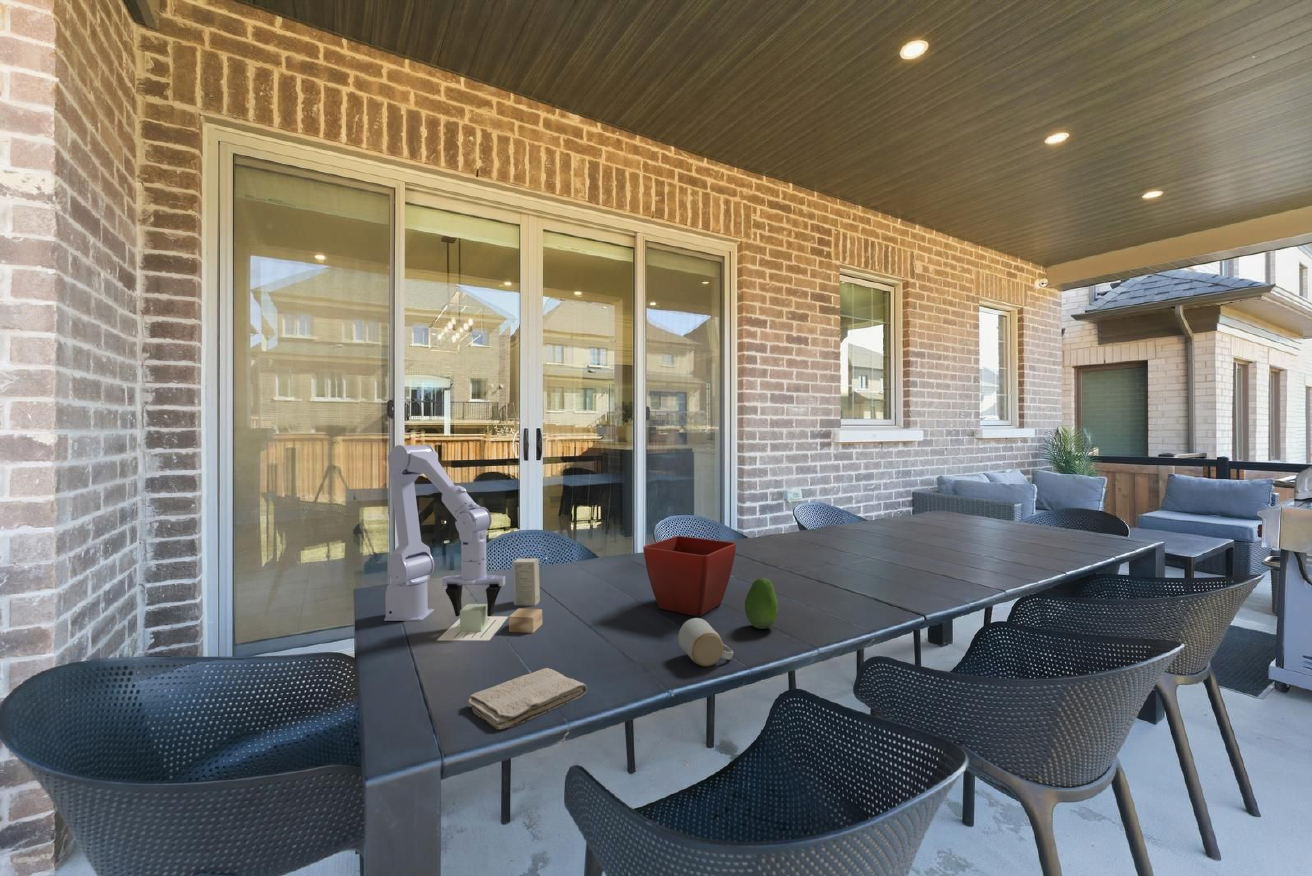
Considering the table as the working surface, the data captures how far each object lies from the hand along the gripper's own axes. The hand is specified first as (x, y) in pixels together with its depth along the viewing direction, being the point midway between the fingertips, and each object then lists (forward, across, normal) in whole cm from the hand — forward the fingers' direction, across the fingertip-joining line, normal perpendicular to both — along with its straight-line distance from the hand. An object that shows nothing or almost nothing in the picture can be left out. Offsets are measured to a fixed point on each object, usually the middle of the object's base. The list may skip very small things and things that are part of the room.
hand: (474, 615), depth 133 cm
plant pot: (+3, +53, +16) cm, 56 cm away
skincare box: (+3, +8, +19) cm, 21 cm away
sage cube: (+3, 0, 0) cm, 3 cm away
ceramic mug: (+3, +54, -18) cm, 57 cm away
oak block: (+3, +12, 0) cm, 13 cm away
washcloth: (+4, +21, -36) cm, 42 cm away
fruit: (+3, +69, 0) cm, 69 cm away
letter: (+3, 0, 0) cm, 3 cm away
